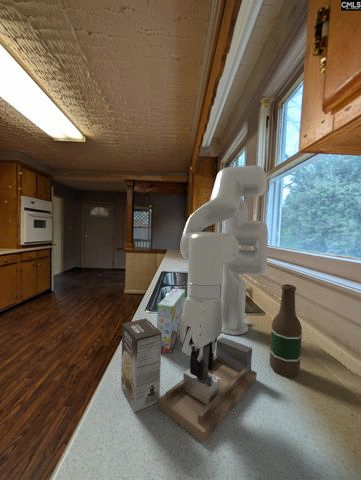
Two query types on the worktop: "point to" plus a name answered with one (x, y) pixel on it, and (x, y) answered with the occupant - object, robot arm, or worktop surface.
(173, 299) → the snack box
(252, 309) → the worktop surface
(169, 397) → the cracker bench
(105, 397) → the worktop surface
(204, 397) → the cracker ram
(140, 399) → the coffee box
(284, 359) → the beer bottle
